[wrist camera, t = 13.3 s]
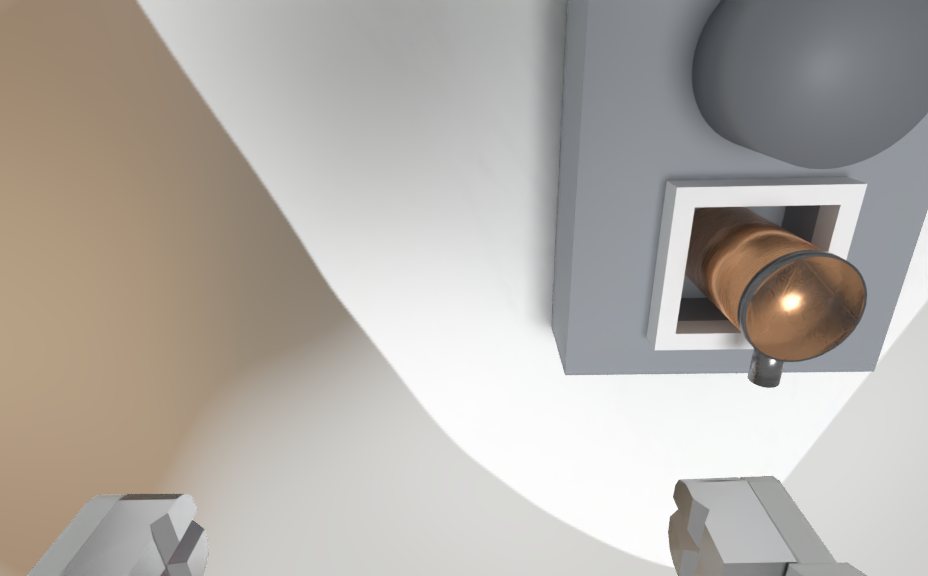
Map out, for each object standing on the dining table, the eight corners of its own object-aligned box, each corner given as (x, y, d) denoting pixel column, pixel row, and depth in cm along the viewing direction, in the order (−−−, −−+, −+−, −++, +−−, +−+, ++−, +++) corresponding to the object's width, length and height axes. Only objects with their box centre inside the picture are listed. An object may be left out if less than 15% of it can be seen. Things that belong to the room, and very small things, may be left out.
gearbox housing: (569, -41, 29) (621, -88, 19) (915, -51, 28) (1158, -104, 18) (551, 327, 38) (580, 429, 28) (814, 323, 37) (941, 425, 27)
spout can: (677, 201, 31) (755, 256, 23) (770, 198, 31) (881, 252, 23) (663, 316, 34) (726, 402, 26) (747, 314, 34) (838, 399, 26)
